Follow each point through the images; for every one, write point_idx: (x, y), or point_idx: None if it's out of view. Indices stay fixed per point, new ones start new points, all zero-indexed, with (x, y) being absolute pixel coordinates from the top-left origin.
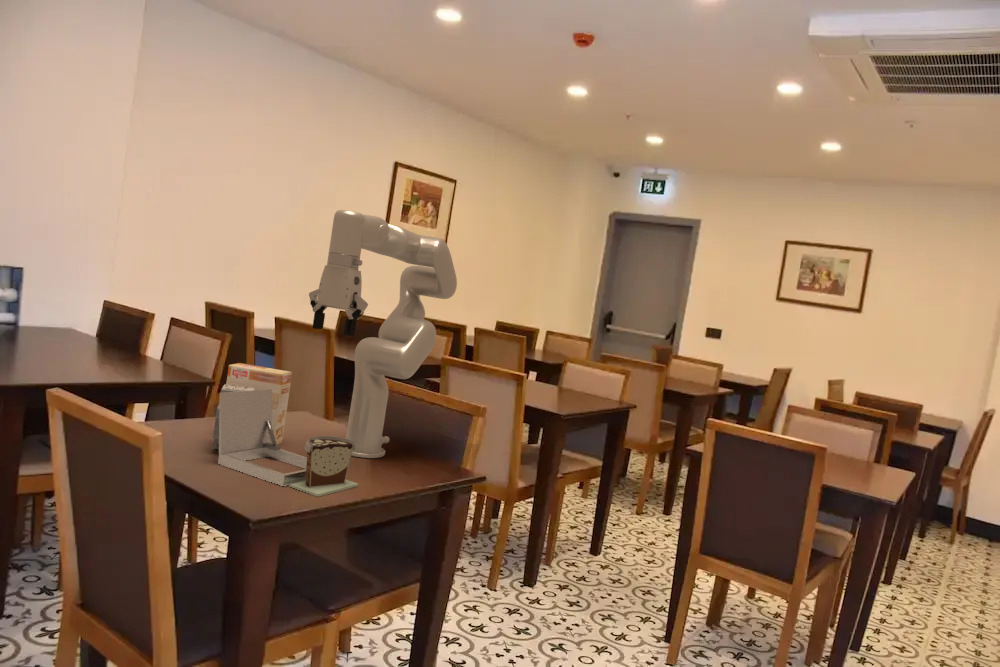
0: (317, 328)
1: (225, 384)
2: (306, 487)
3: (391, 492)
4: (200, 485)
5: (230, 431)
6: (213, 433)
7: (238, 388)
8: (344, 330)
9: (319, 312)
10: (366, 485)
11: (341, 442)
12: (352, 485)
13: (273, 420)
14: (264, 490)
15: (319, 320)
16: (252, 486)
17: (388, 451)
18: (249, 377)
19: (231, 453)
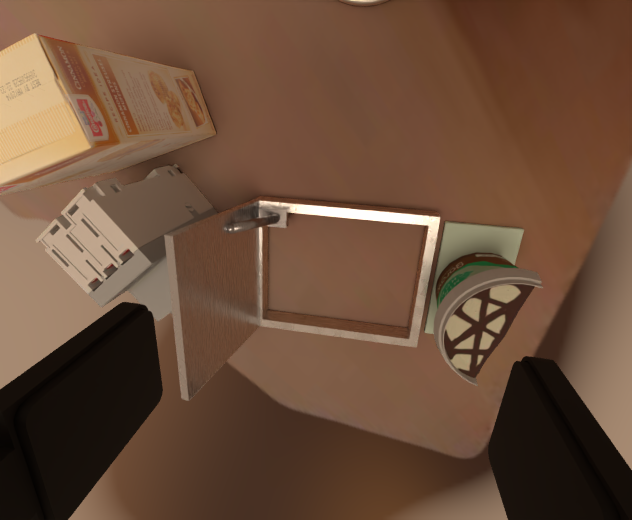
0: (153, 361)
1: (39, 241)
2: None
3: (605, 205)
4: (329, 408)
5: (239, 327)
6: None
7: (86, 245)
8: (501, 488)
9: (30, 503)
10: (534, 206)
11: (502, 290)
12: (518, 248)
13: (180, 139)
14: (405, 368)
15: (111, 416)
16: (380, 365)
17: None
18: (24, 182)
19: (262, 306)
